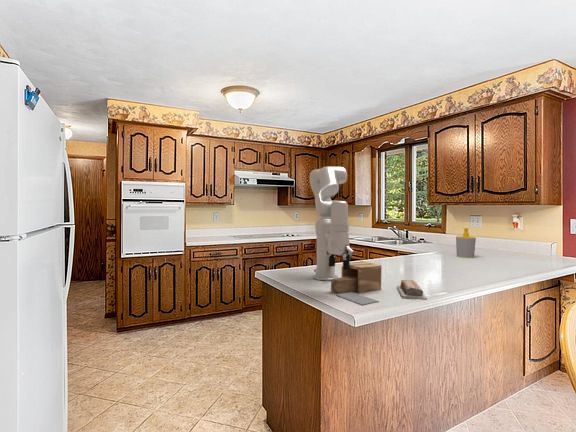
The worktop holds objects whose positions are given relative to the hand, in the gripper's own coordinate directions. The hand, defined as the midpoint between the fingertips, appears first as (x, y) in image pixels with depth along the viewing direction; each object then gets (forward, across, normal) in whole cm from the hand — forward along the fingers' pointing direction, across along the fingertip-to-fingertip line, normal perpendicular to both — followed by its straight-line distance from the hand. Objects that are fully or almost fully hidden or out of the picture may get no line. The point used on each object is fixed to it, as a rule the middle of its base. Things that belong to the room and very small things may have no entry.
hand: (338, 267), depth 153 cm
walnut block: (+11, -1, +6) cm, 13 cm away
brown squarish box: (+11, -1, +14) cm, 18 cm away
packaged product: (+12, +16, +27) cm, 34 cm away
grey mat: (+11, +11, 0) cm, 16 cm away
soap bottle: (+8, -32, +146) cm, 150 cm away
